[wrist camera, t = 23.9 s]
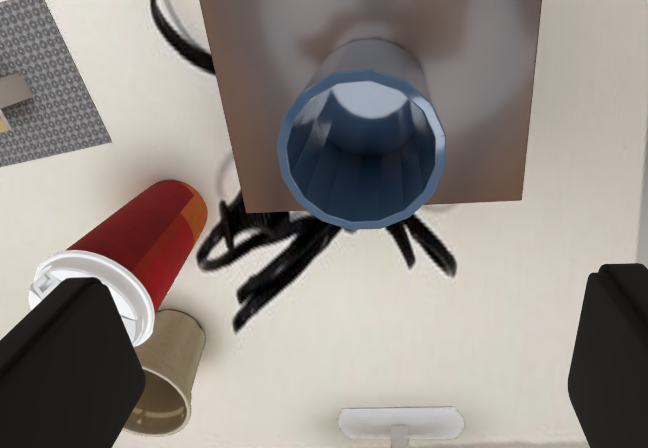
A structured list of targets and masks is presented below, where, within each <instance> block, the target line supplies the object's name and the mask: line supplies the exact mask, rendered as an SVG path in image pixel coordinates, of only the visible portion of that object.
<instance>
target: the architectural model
mask: <svg viewBox="0 0 648 448" xmlns="http://www.w3.org/2000/svg"><path fill="white" fill-rule="evenodd" d="M110 142H111V140H110V137H109V135H108V133H107V131H106V129H105V127H104V125H103V123H102V121H101V119H100V117H99V114H98V112H97V110H96V108H95V106H94V104H93V102H92V100H91V98H90V96H89V94H88V91H87V89H86V87H85V85H84V83H83V81H82V79H81V77H80V75H79V73H78V71H77V68H76V66H75V64H74V62H73V60H72V58H71V56H70V54H69V52H68V50H67V48H66V45H65V43H64V41H63V39H62V37H61V35H60V33H59V31H58V29H57V27H56V25H55V23H54V20H53V18H52V16H51V14H50V12H49V10H48V8H47V6H46V4H45V2H44V0H8V1H5V2H2V3H0V167H3V166H8V165H12V164H17V163H21V162H26V161H30V160H35V159H39V158H43V157H48V156H52V155H57V154H61V153H66V152H70V151H75V150H79V149H84V148H88V147H93V146H97V145H101V144H106V143H110Z"/></svg>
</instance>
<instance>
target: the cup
mask: <svg viewBox="0 0 648 448" xmlns="http://www.w3.org/2000/svg"><path fill="white" fill-rule="evenodd" d="M277 153H278V159H279V164H280V170H281V176H282V178H283V180H284V181H285V183H286V185H287V186H288V188H289V189H290V191H291V193H292V194H293V196H294V197H295V199H296V201H297V202H298V203H299V204H300V205H302V206H303V207H304V208H306V209H307V210H308V211H309V212H311V213H312V214H313V215H315V216H316V217H317V218H319V219H320V220H322V221H324V222H327V223H330V224H334V225H337V226H340V227H343V228H346V229H351V230H358V229H380V228H384V227H386V226H389V225H391V224H394V223H396V222H399V221H401V220H404V219H406V218H409V217H410V216H411V215H412V214H413V213H415V212H416V211H417V210H418V209H419V208H420V207H421V206H422V205H423V204H424V203H425V202H426V201H427V200H428V199H430V198H431V197H432V195H433V194H434V191H435V189H436V187H437V185H438V183H439V180H440V178H441V176H442V174H443V172H444V170H445V166H446V135H445V131H444V128H443V125H442V122H441V119H440V116H439V113H438V110H437V107H436V104H435V101H434V98H433V95H432V92H431V89H430V86H429V84H428V81H427V79H426V77H425V74H424V72H423V70H422V68H421V66H420V64H419V63H418V62H417V61H416V60H415V59H414V58H413V57H412V56H411V55H410V54H409V53H408V52H406V51H405V50H404V49H402V48H400V47H399V46H397V45H394V44H392V43H390V42H386V41H382V40H374V39H369V40H359V41H355V42H351V43H348V44H346V45H344V46H342V47H340V48H338V49H337V50H335V51H334V52H333V53H331V54H329V55H328V56H327V57H326V59H325V60H324V61H323V63H322V64H321V65H320V66H319V68H318V69H317V70H316V72H315V73H314V74H313V76H312V77H311V79H310V80H309V81H308V83H307V84H306V86H305V87H304V88H303V90H302V91H301V93H300V94H299V95H298V97H297V98H296V100H295V101H294V102H293V104H292V105H291V107H290V108H289V109H288V111H287V112H286V114H285V115H284V117H283V121H282V126H281V130H280V134H279V138H278V142H277Z"/></svg>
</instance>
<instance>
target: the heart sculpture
mask: <svg viewBox="0 0 648 448" xmlns="http://www.w3.org/2000/svg"><path fill="white" fill-rule="evenodd" d="M337 425H338V426H339V428H340V430H341V431H342V432H343V433H344V434H345V435H346V436H347V437H348V438H349V439H391V448H409V441H408V439H456V438H457V437H458V435H459V434H460V433H461V431H462V430H463V428H464V425H465V422H464V420H463V418H462V416H461V415H460V413H459V412H458V411H457V410H456V409H455V408H454V407H428V408H361V409H343V410H342V412H341V413H340V415H339V418H338V423H337Z"/></svg>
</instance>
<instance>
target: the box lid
mask: <svg viewBox="0 0 648 448" xmlns="http://www.w3.org/2000/svg"><path fill="white" fill-rule="evenodd" d="M199 1H200V5H201V10H202V14H203V19H204V23H205V28H206V32H207V37H208V41H209V46H210V50H211V55H212V60H213V64H214V69H215V73H216V78H217V82H218V87H219V91H220V96H221V100H222V105H223V109H224V114H225V118H226V123H227V127H228V132H229V136H230V141H231V146H232V150H233V155H234V159H235V164H236V168H237V173H238V177H239V182H240V186H241V191H242V195H243V200H244V204H245V209H246V213H259V212H281V211H302V210H307V209H306V208H304V207H303V206H302V205H300V204H299V203H298V202H297V201H296V199H295V197H294V196H293V194H292V193H291V191H290V189H289V188H288V186H287V185H286V183H285V181H284V180H283V178H282V176H281V170H280V164H279V159H278V153H277V142H278V138H279V134H280V130H281V126H282V121H283V117H284V115H285V114H286V112H287V111H288V109H289V108H290V107H291V105H292V104H293V102H294V101H295V100H296V98H297V97H298V95H299V94H300V93H301V91H302V90H303V88H304V87H305V86H306V84H307V83H308V81H309V80H310V79H311V77H312V76H313V74H314V73H315V72H316V70H317V69H318V68H319V66H320V65H321V64H322V63H323V61H324V60H325V59H326V57H327V56H328V55H329V54H331V53H333V52H334V51H335V50H337V49H338V48H340V47H342V46H344V45H346V44H348V43H351V42H355V41H359V40H369V39H374V40H382V41H386V42H390V43H392V44H394V45H397V46H399V47H400V48H402V49H404V50H405V51H406V52H408V53H409V54H410V55H411V56H412V57H413V58H414V59H415V60H416V61H417V62H418V63H419V64H420V66H421V68H422V70H423V72H424V74H425V77H426V79H427V81H428V84H429V86H430V89H431V92H432V95H433V98H434V101H435V104H436V107H437V110H438V113H439V116H440V119H441V122H442V125H443V128H444V131H445V135H446V166H445V170H444V172H443V174H442V176H441V178H440V180H439V183H438V185H437V187H436V189H435V191H434V194H433V195H432V197H431V198H430V199H428V200H427V201H426V202H425V203H424V204H423V205H432V204H453V203H475V202H496V201H518V200H522V192H523V182H524V172H525V162H526V152H527V142H528V132H529V123H530V113H531V103H532V93H533V83H534V73H535V63H536V53H537V44H538V34H539V24H540V14H541V4H542V0H199Z"/></svg>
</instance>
